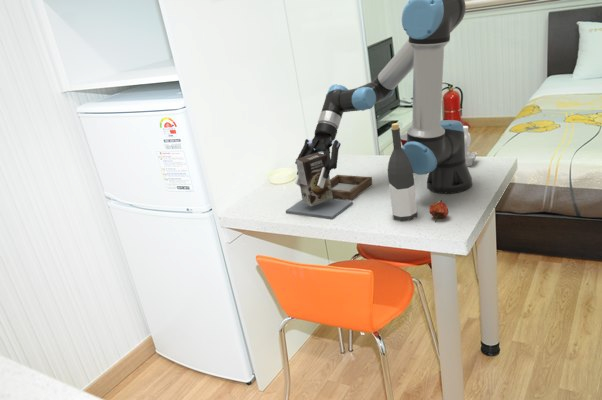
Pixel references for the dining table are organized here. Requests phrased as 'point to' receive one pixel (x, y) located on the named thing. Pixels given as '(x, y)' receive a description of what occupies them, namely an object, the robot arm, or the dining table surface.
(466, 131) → the figurine
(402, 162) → the wine bottle
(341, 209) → the slate mat
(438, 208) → the pomegranate
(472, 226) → the dining table surface
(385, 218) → the dining table surface
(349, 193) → the walnut cradle
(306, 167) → the coffee box
